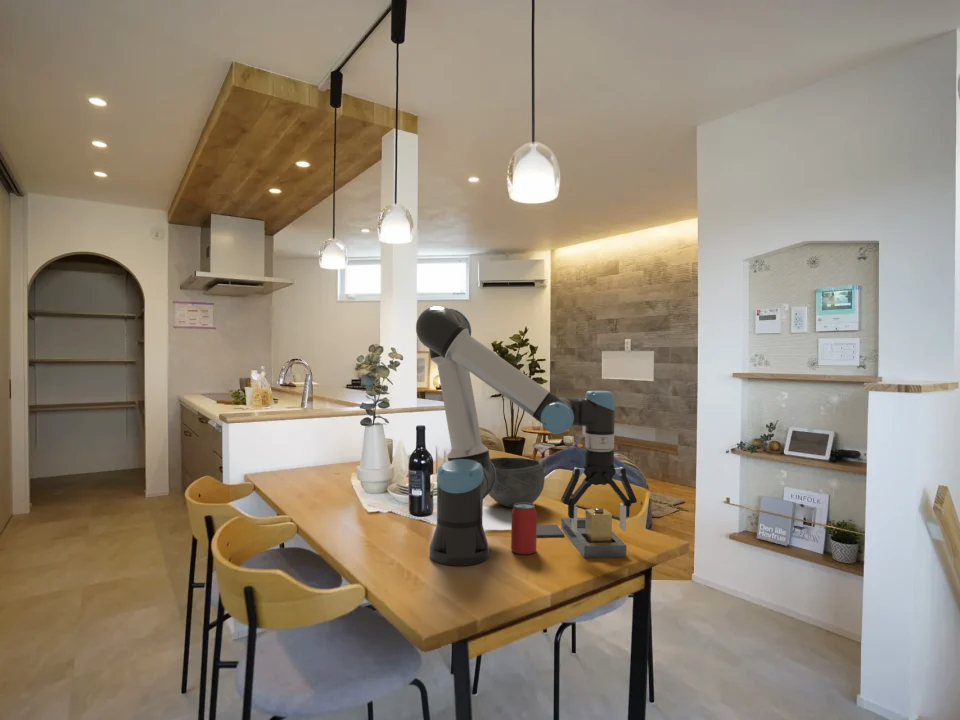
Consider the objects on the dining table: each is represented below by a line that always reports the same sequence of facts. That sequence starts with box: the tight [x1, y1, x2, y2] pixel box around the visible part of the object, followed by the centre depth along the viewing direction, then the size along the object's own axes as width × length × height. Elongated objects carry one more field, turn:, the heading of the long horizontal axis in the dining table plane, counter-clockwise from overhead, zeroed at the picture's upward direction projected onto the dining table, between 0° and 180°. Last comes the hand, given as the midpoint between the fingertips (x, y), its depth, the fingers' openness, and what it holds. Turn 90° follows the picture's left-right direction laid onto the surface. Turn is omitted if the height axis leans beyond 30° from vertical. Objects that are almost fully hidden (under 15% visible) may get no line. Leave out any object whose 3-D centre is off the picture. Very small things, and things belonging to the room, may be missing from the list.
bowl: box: [488, 456, 546, 509], centre depth 188 cm, size 21×21×15 cm
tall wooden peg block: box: [585, 507, 613, 543], centre depth 147 cm, size 5×5×11 cm
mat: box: [536, 524, 565, 538], centre depth 161 cm, size 9×9×1 cm
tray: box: [560, 517, 627, 559], centre depth 153 cm, size 11×24×3 cm, turn 6°
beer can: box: [510, 503, 538, 556], centre depth 145 cm, size 7×7×12 cm
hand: (598, 529), depth 147 cm, fingers open, 12 cm apart
